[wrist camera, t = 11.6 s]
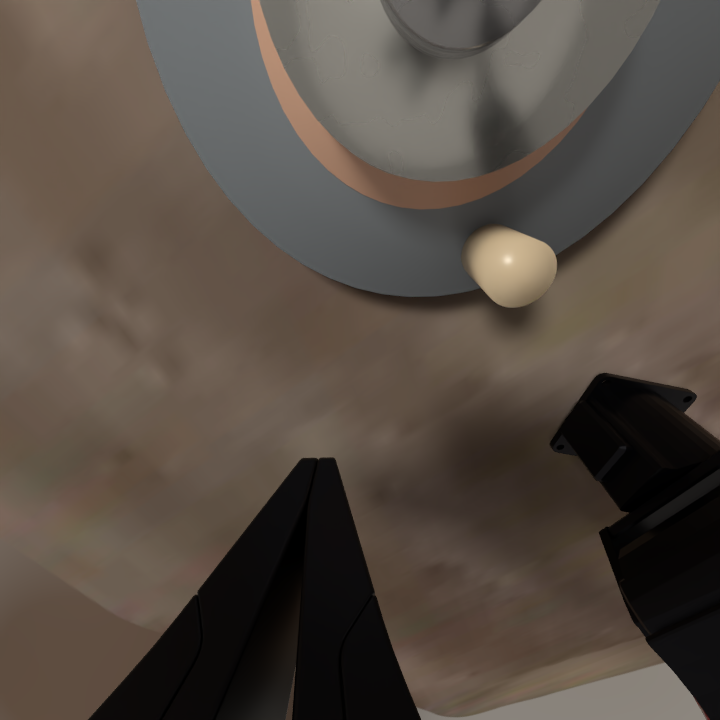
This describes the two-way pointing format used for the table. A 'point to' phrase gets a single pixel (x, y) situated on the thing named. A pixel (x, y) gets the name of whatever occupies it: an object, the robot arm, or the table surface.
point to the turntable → (415, 197)
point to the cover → (451, 74)
